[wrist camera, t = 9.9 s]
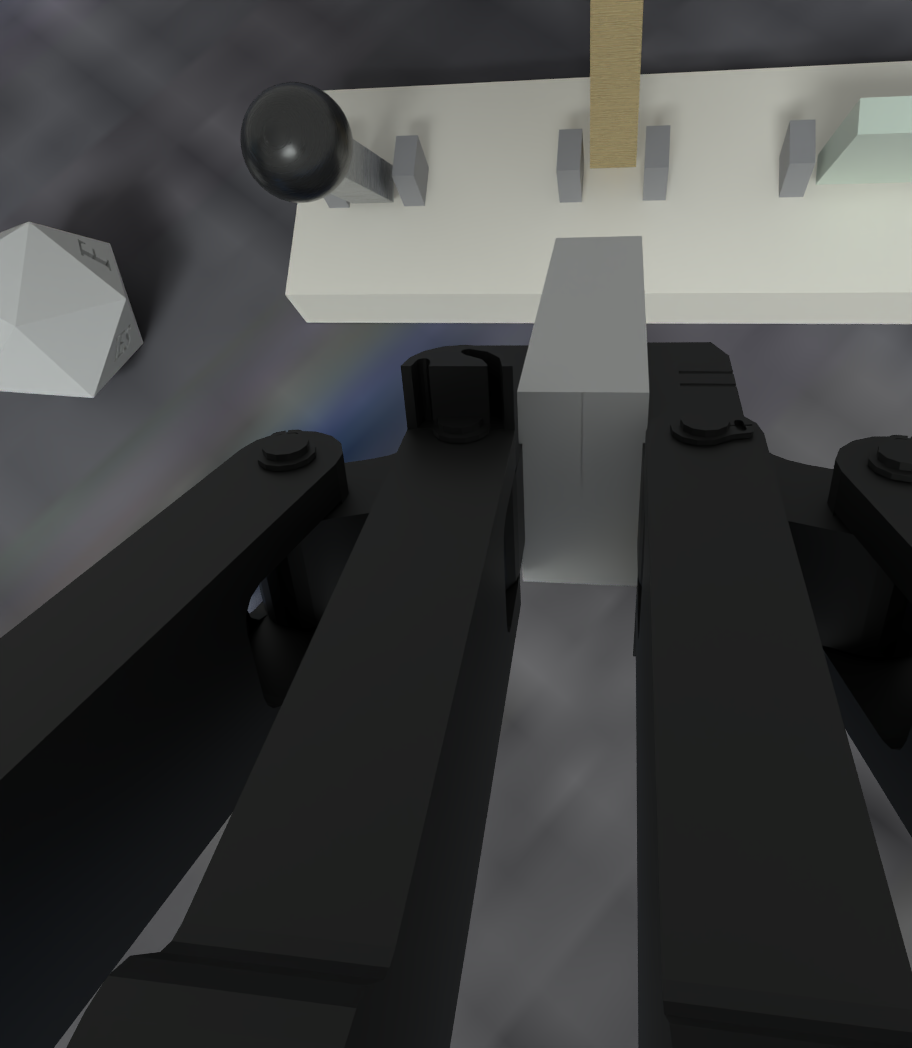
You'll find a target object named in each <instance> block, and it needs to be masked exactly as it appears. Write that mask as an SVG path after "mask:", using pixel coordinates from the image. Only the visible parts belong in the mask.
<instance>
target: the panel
mask: <svg viewBox="0 0 912 1048" xmlns="http://www.w3.org/2000/svg"><path fill="white" fill-rule="evenodd" d="M324 92H325V93H327V94H328V95H329V96H330V97H331V98H332V99H333V100H334V101H335V102H336V103H337V104H338V105H339V106H340V108H341V109H342V111H343V112H344V114H345V116H346V118H347V120H348V122H349V125H350V128H351V132H352V137H353V139H354V140H355V141H357V142H358V143H360V144H361V145H363V146H364V147H366V148H367V149H369V150H370V151H372V152H373V153H375V154H376V155H378V156H379V157H381V158H382V159H384V160H385V161H387V162H388V163H390V164H391V165H393V169H392V178H393V180H394V202H393V203H350V202H348V201H346V200H344V199H341V198H339V197H337V196H334V195H332V194H329V195H327V196H326V197H324V198H322V199H319V200H317V201H313V202H308V203H298V204H297V212H296V219H295V227H294V234H293V241H292V249H291V256H290V264H289V271H288V278H287V286H286V293H285V295H286V296H287V298H288V299H289V300H290V302H291V303H292V304H293V305H294V307H295V308H296V309H297V311H298V312H299V313H300V314H301V316H302V317H303V318H304V320H305V321H306V322H307V323H535V319H536V315H537V311H538V307H539V303H540V299H541V295H542V291H543V287H544V283H545V279H546V275H547V271H548V267H549V264H550V260H551V256H552V252H553V248H554V244H555V240H556V238H574V237H615V236H642V248H643V269H644V290H645V311H646V323H685V324H912V182H901V183H862V184H824V185H816V172H817V158H818V154H819V153H820V151H821V150H822V149H823V147H824V146H825V145H826V143H827V142H828V141H829V139H830V138H831V137H832V135H833V134H834V133H835V131H836V130H837V129H838V127H839V126H840V125H841V123H842V122H843V121H844V119H845V118H846V117H847V115H848V114H849V113H850V111H851V110H852V109H853V107H854V106H855V105H856V103H857V102H858V101H859V99H860V98H871V97H894V96H912V61H900V62H880V63H860V64H840V65H821V66H801V67H781V68H761V69H741V70H722V71H702V72H682V73H662V74H642V75H640V94H639V117H638V140H637V161H636V167H628V168H595V169H590V77H583V78H563V79H543V80H524V81H504V82H484V83H464V84H444V85H425V86H405V87H385V88H365V89H345V90H326V91H324Z"/></svg>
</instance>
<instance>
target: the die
mask: <svg viewBox="0 0 912 1048" xmlns="http://www.w3.org/2000/svg"><path fill="white" fill-rule="evenodd" d="M142 344H143V340H142V337H141V334H140V331H139V328H138V325H137V322H136V319H135V316H134V313H133V311H132V308H131V304H130V301H129V298H128V295H127V292H126V289H125V286H124V283H123V280H122V278H121V275H120V272H119V269H118V266H117V263H116V260H115V257H114V254H113V251H112V248H111V245H110V243H106V242H103V241H99V240H95V239H92V238H88V237H84V236H81V235H77V234H73V233H69V232H66V231H62V230H58V229H55V228H51V227H47V226H44V225H40V224H36V223H33V222H27V223H24V224H21V225H19V226H16V227H14V228H11V229H8V230H6V231H3V232H1V233H0V391H6V392H19V393H33V394H47V395H60V396H74V397H87V398H94V397H95V396H96V395H97V394H98V392H99V391H100V390H101V389H102V388H103V387H104V386H105V385H106V384H107V383H108V381H109V380H110V379H111V378H112V377H113V376H114V375H115V374H116V373H117V372H118V370H119V369H120V368H121V367H122V366H123V365H124V364H125V363H126V362H127V361H128V359H129V358H130V357H131V356H132V355H133V354H134V353H135V352H136V351H137V350H138V348H139V347H140V346H141V345H142Z"/></svg>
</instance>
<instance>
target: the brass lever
mask: <svg viewBox="0 0 912 1048" xmlns="http://www.w3.org/2000/svg"><path fill="white" fill-rule="evenodd" d="M643 2H644V0H590V169H595V168H628V167H636V161H637V140H638V117H639V94H640V71H641V48H642V25H643Z"/></svg>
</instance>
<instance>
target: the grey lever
mask: <svg viewBox="0 0 912 1048" xmlns="http://www.w3.org/2000/svg"><path fill="white" fill-rule="evenodd" d="M241 149H242V154H243V157H244V160H245V163H246V165H247V167H248V169H249V171H250V173H251V175H252V176H253V178H254V179H255V180H256V181H257V182H258V184H259V185H260V186H261V187H263V188H264V189H265V190H266V191H267V192H269V193H270V194H272V195H274V196H276V197H277V198H279V199H282V200H285V201H289V202H294V203H308V202H313V201H317V200H319V199H322V198H324V197H326V196H327V195H329V194H332V195H334V196H337V197H339V198H341V199H344V200H346V201H348V202H350V203H393V202H394V180H393V178H392V169H393V165H391V164H390V163H388V162H387V161H385V160H384V159H382V158H381V157H379V156H378V155H376V154H375V153H373V152H372V151H370V150H369V149H367V148H366V147H364V146H363V145H361V144H360V143H358V142H357V141H355V140H354V139H353V137H352V132H351V128H350V125H349V122H348V120H347V118H346V116H345V114H344V112H343V111H342V109H341V108H340V106H339V105H338V104H337V103H336V102H335V101H334V100H333V99H332V98H331V97H330V96H329V95H328V94H327V93H325V92H324V91H322V90H320V89H318V88H316V87H314V86H312V85H309V84H305V83H299V82H286V83H281V84H278V85H274V86H272V87H270V88H268V89H266V90H265V91H263V92H262V93H261V94H260V95H258V96H257V97H256V99H255V100H254V101H253V102H252V104H251V105H250V106H249V108H248V110H247V112H246V114H245V117H244V119H243V123H242V128H241Z"/></svg>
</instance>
